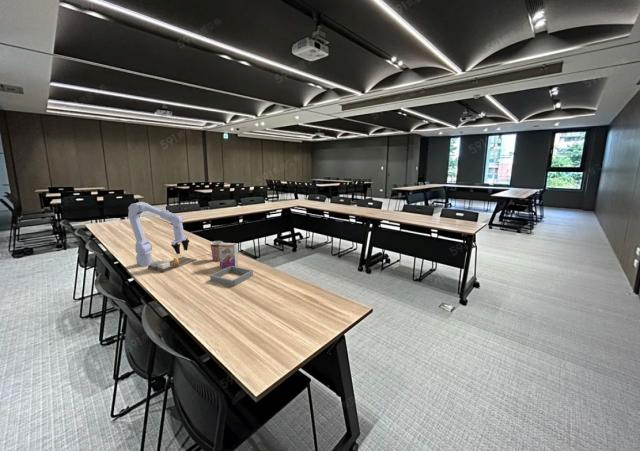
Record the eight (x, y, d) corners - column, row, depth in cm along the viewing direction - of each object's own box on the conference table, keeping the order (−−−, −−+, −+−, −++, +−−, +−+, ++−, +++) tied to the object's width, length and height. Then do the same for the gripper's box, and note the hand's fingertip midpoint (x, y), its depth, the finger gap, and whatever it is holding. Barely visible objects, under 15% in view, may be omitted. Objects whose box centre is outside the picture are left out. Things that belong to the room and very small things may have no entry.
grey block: (151, 268, 180) (150, 262, 179) (158, 266, 184) (157, 260, 183) (156, 269, 178) (155, 264, 177) (163, 267, 182) (162, 261, 181)
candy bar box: (219, 267, 185) (217, 244, 182) (222, 264, 190) (221, 242, 186) (235, 268, 184) (233, 245, 181) (238, 265, 189) (236, 243, 185)
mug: (215, 263, 193) (214, 245, 190) (209, 260, 199) (207, 242, 196) (231, 258, 203) (230, 241, 200) (224, 256, 208) (223, 239, 205)
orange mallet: (158, 270, 177) (157, 263, 176) (176, 264, 188) (175, 257, 187) (163, 271, 175) (162, 264, 174) (180, 265, 186) (180, 258, 185)
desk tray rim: (209, 281, 164) (209, 275, 163) (231, 270, 180) (231, 265, 179) (233, 286, 156) (233, 281, 155) (253, 275, 172) (253, 270, 172)
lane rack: (148, 270, 180) (147, 265, 179) (183, 258, 203) (182, 254, 202) (163, 274, 173) (162, 269, 173) (197, 261, 197) (197, 257, 196)
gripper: (176, 235, 176) (179, 255, 179) (191, 230, 190) (194, 248, 193) (167, 235, 177) (170, 255, 180) (182, 230, 191) (185, 248, 194)
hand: (182, 251), depth 187 cm, fingers open, 7 cm apart
